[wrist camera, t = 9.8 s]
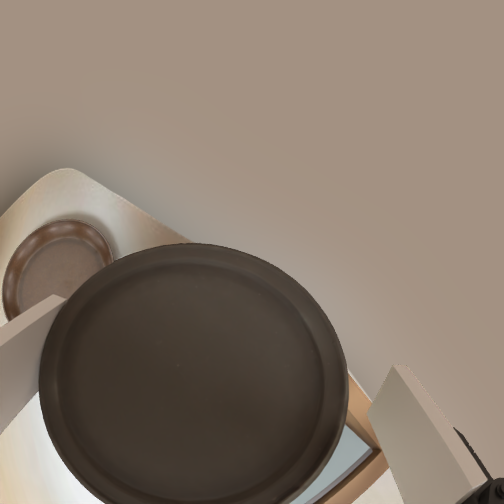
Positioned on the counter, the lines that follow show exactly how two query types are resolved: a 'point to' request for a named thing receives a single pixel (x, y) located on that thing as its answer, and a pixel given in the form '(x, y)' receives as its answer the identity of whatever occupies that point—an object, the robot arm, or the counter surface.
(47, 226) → the plant saucer
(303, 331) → the coffee can
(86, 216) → the counter surface
